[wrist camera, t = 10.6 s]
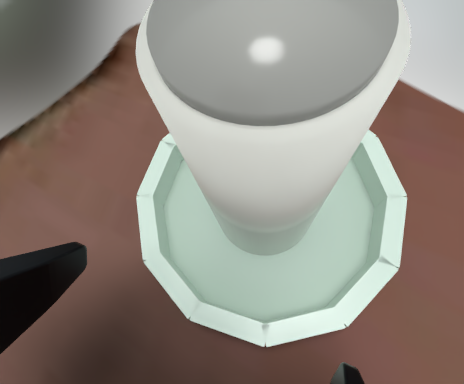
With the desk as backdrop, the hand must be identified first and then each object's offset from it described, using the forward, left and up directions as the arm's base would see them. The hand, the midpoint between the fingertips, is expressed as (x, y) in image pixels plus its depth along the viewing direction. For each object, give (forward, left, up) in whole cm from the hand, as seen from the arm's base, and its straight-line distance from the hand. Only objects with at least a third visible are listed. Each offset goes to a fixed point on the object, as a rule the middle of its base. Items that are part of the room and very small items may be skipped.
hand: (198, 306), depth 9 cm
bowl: (+6, -1, -9) cm, 11 cm away
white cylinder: (+6, 0, -8) cm, 10 cm away
